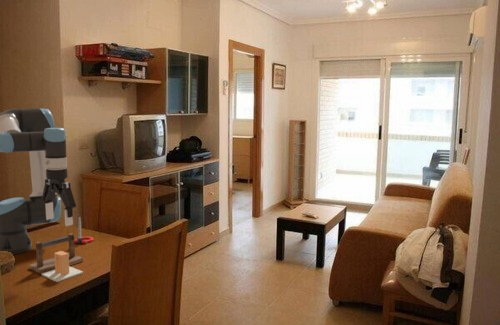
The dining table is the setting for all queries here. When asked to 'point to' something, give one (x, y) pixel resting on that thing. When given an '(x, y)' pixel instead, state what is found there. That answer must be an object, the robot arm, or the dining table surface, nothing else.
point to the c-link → (61, 262)
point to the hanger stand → (50, 263)
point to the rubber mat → (59, 277)
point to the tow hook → (80, 239)
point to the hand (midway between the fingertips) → (59, 222)
